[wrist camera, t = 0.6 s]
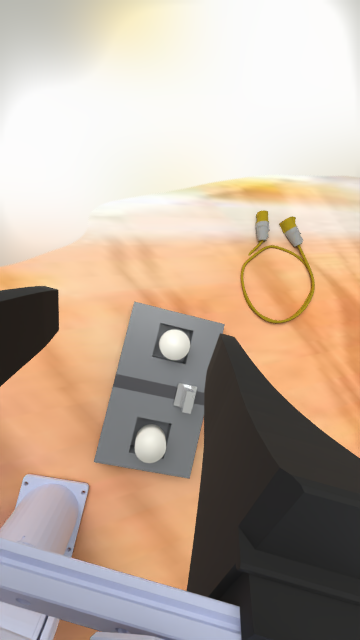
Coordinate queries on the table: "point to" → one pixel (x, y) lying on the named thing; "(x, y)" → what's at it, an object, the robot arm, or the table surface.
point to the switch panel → (156, 407)
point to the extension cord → (293, 236)
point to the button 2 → (174, 344)
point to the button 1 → (150, 443)
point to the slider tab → (185, 397)
